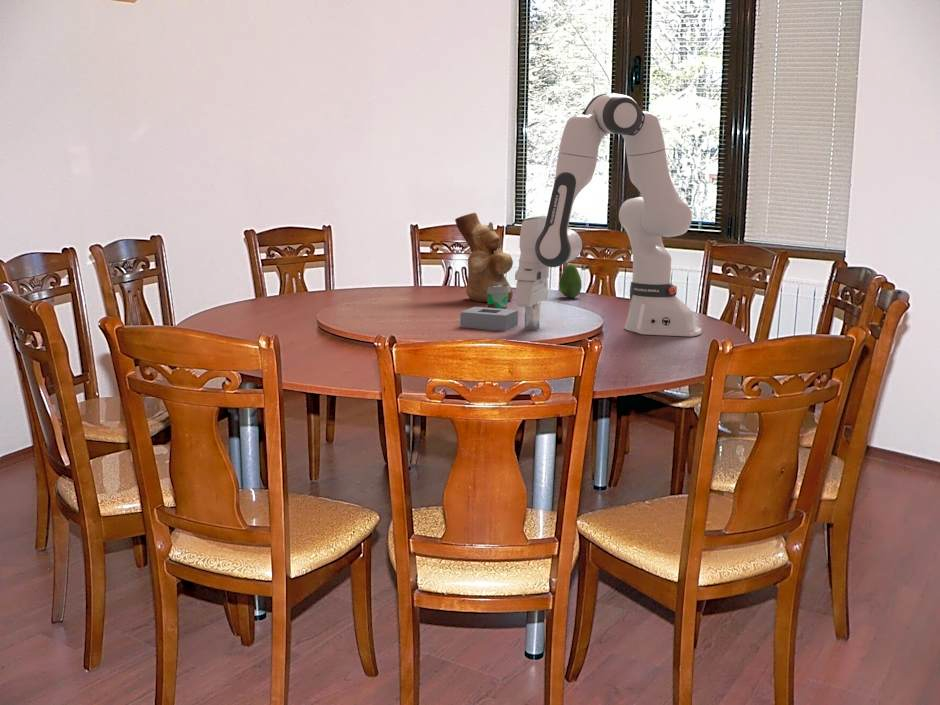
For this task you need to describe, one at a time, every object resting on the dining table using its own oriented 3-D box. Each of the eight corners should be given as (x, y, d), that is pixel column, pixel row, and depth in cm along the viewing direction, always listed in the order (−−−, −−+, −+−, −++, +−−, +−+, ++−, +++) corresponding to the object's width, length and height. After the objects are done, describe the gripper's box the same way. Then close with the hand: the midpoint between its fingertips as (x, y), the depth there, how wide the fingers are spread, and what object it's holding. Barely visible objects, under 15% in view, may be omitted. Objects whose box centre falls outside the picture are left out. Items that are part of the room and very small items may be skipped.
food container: (506, 319, 333) (507, 287, 331) (486, 318, 334) (487, 286, 332) (512, 314, 345) (513, 283, 343) (493, 313, 346) (494, 282, 344)
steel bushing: (541, 328, 319) (542, 301, 317) (536, 330, 315) (537, 303, 313) (526, 327, 320) (527, 300, 319) (522, 329, 316) (523, 302, 315)
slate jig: (517, 324, 324) (518, 309, 323) (505, 330, 313) (505, 315, 312) (474, 321, 329) (474, 306, 328) (460, 327, 318) (460, 312, 317)
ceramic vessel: (499, 305, 362) (501, 216, 357) (444, 299, 373) (445, 212, 367) (520, 300, 376) (523, 214, 370) (467, 294, 387) (468, 210, 381)
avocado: (570, 295, 390) (571, 262, 388) (585, 298, 384) (586, 264, 382) (554, 297, 385) (555, 263, 383) (569, 300, 379) (570, 266, 377)
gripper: (533, 267, 325) (532, 312, 327) (513, 274, 306) (511, 322, 308) (553, 268, 323) (552, 314, 325) (534, 275, 304) (532, 324, 306)
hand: (532, 318), depth 317 cm, fingers closed on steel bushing, 4 cm apart
